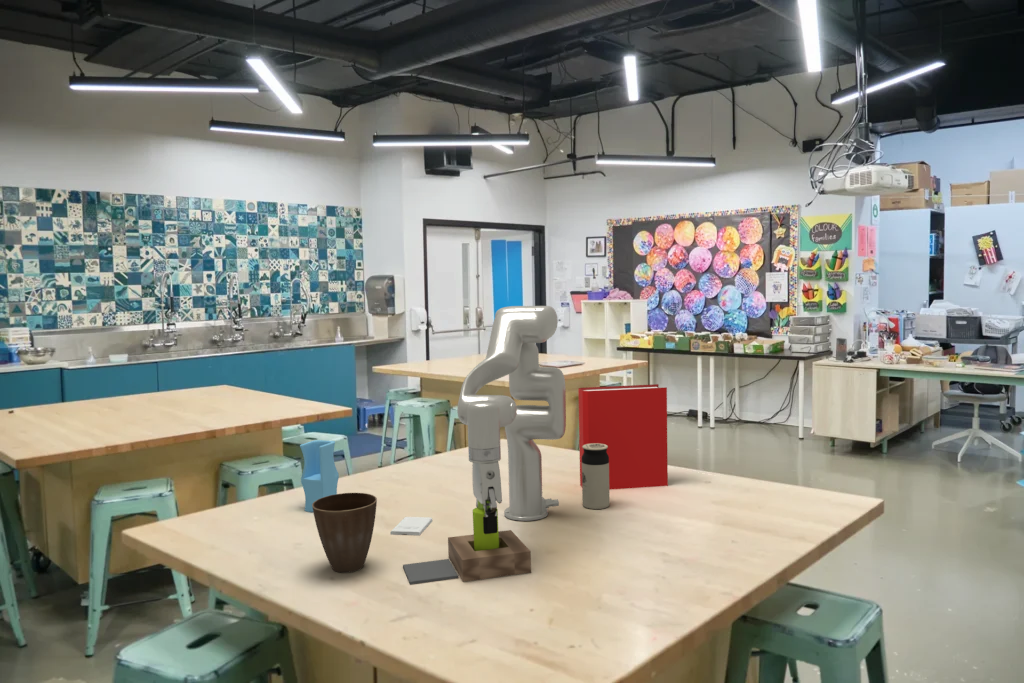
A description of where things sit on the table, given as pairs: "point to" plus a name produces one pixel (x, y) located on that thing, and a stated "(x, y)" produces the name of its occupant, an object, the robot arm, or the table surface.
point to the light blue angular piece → (318, 471)
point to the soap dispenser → (480, 538)
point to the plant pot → (345, 528)
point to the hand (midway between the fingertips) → (486, 527)
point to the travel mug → (595, 476)
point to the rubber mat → (429, 571)
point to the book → (627, 432)
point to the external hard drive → (411, 526)
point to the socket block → (489, 557)
